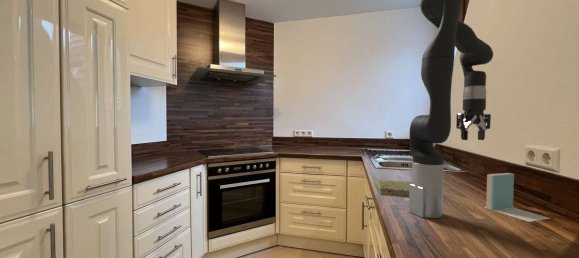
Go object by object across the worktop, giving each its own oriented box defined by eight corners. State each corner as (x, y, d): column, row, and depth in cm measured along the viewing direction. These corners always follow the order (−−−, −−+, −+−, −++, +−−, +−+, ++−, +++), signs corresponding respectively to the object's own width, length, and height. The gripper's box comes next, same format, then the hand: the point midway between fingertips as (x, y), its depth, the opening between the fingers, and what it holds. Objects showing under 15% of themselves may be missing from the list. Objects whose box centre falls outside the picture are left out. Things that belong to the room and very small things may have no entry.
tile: (492, 210, 91) (493, 175, 91) (486, 207, 94) (487, 174, 93) (512, 207, 94) (514, 174, 94) (506, 205, 96) (507, 172, 96)
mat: (528, 223, 81) (528, 221, 81) (483, 208, 94) (483, 207, 94) (550, 219, 84) (550, 218, 84) (503, 205, 97) (503, 204, 97)
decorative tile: (374, 185, 128) (374, 178, 128) (418, 188, 124) (418, 180, 124) (379, 196, 110) (379, 188, 110) (431, 199, 106) (431, 191, 106)
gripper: (467, 97, 99) (465, 141, 99) (498, 98, 102) (496, 140, 102) (451, 98, 106) (449, 139, 107) (480, 99, 109) (479, 139, 109)
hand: (472, 139), depth 104 cm, fingers open, 7 cm apart
